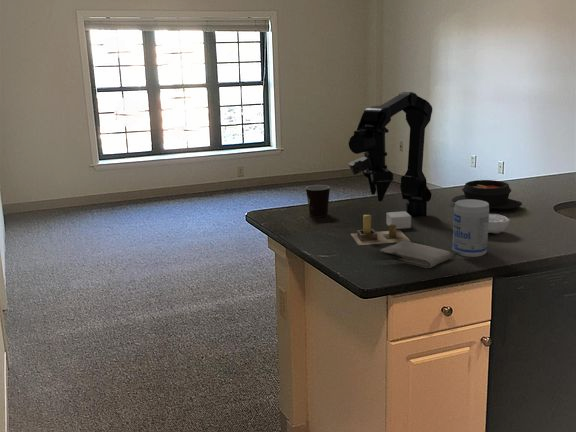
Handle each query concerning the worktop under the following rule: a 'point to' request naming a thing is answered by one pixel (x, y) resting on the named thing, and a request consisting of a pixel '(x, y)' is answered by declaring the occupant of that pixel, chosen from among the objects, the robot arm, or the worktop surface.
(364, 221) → the peg
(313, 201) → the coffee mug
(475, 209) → the supplement tub
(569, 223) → the worktop surface
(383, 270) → the worktop surface
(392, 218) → the grey rounded cube
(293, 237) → the worktop surface
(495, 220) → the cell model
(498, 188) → the casserole
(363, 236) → the board
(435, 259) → the washcloth
